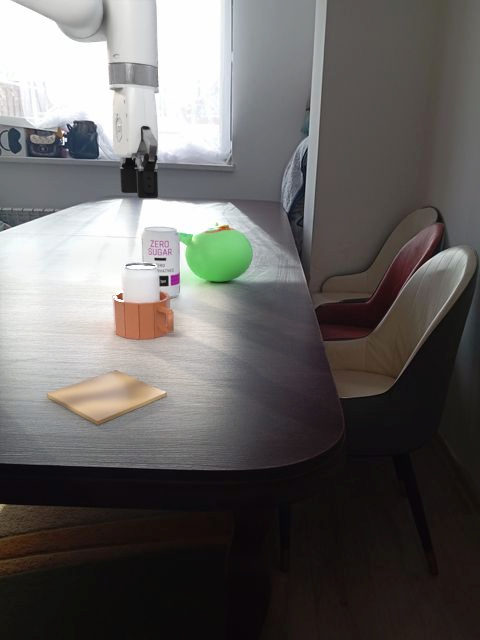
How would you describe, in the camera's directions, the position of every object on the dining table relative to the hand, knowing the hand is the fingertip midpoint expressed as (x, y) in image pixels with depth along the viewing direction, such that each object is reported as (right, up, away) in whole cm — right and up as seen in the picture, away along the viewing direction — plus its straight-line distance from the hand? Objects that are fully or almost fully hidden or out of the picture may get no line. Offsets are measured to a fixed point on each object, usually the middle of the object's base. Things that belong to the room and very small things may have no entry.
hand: (138, 195), depth 86 cm
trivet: (0, -32, -17) cm, 37 cm away
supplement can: (-3, -14, +32) cm, 35 cm away
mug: (0, -23, +8) cm, 24 cm away
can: (-1, -23, +9) cm, 24 cm away
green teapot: (+9, -8, +49) cm, 50 cm away
